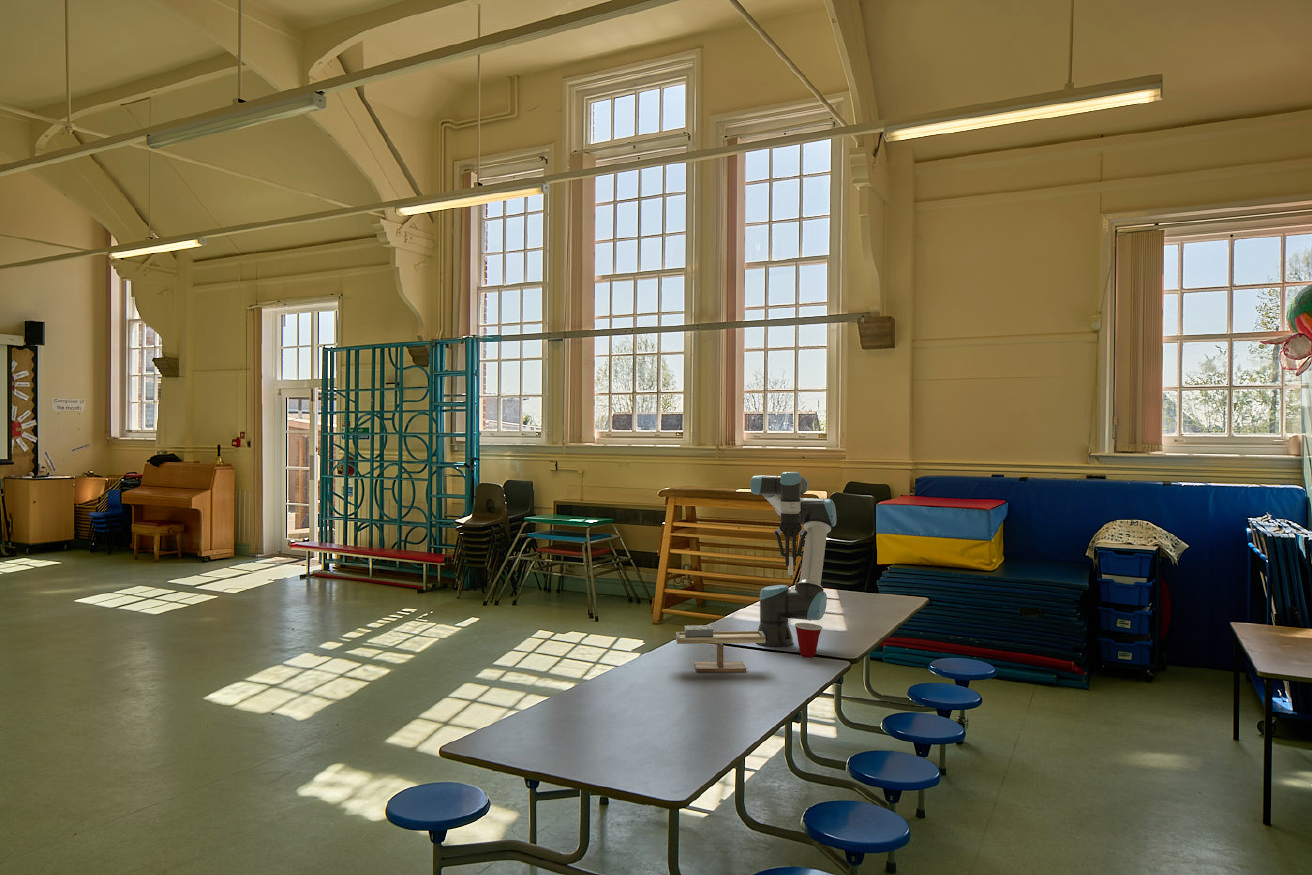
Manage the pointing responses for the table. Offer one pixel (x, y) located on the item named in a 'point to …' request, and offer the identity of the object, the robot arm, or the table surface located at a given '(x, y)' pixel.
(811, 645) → the plastic cup
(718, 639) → the seesaw beam
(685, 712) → the table surface
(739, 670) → the seesaw stand
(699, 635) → the iron block
